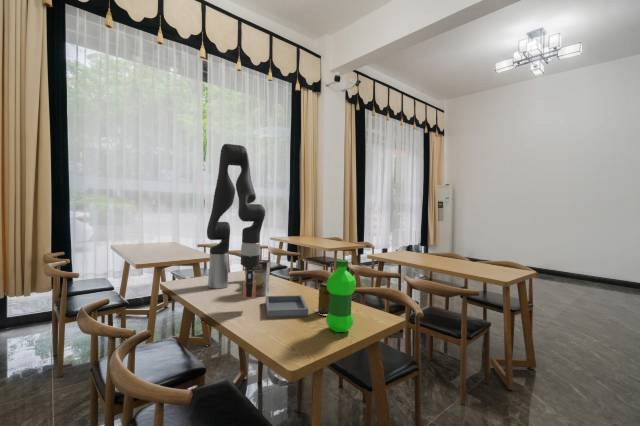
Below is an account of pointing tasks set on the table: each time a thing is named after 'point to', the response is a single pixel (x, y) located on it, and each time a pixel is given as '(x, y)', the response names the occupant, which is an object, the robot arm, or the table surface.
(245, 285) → the red block
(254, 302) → the table surface
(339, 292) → the plastic bottle
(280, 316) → the tray
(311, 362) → the table surface
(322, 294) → the condiment
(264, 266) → the coffee box
